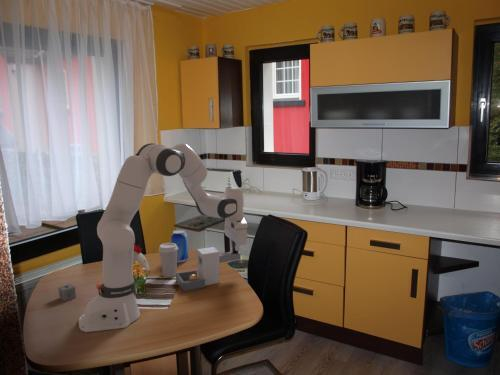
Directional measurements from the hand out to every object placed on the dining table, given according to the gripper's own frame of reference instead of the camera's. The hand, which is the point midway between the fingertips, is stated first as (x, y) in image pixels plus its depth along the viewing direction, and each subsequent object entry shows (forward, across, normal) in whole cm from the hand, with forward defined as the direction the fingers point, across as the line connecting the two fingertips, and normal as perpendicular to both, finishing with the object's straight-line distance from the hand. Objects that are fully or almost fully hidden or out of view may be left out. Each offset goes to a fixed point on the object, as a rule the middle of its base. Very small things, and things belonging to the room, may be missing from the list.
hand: (235, 249), depth 200 cm
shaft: (+5, 0, -8) cm, 9 cm away
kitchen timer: (+14, -25, -44) cm, 52 cm away
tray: (+14, 0, -22) cm, 26 cm away
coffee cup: (+14, -16, -28) cm, 35 cm away
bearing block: (+14, 0, -14) cm, 19 cm away
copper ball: (+11, 0, -21) cm, 24 cm away
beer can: (+14, -34, -19) cm, 41 cm away
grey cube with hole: (+14, -9, -74) cm, 76 cm away
